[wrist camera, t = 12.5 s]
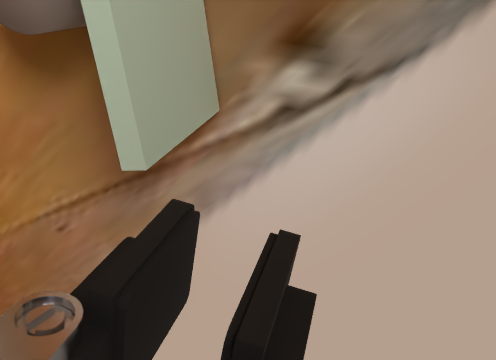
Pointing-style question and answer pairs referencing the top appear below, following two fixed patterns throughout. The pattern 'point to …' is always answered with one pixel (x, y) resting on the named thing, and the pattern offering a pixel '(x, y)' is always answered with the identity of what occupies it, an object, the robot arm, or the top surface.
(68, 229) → the top surface
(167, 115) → the door
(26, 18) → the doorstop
